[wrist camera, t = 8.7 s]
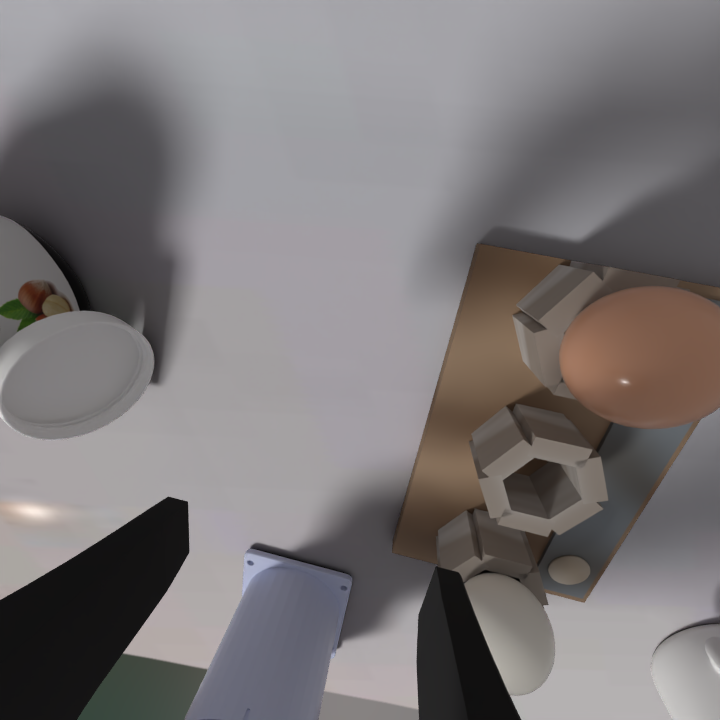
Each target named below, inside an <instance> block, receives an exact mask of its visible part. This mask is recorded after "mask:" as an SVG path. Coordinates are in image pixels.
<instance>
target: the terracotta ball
mask: <svg viewBox="0 0 720 720" xmlns="http://www.w3.org/2000/svg"><path fill="white" fill-rule="evenodd" d="M559 364H560V371H561V374H562V377H563V379H564V381H565V384H566V386H567V388H568V389H569V391H570V392H571V394H572V395H573V396H574V397H575V398H576V399H577V400H578V401H579V403H581V404H582V405H583V406H584V407H586V408H587V409H588V410H589V411H591V412H592V413H594V414H596V415H598V416H599V417H601V418H603V419H605V420H608V421H610V422H613V423H616V424H619V425H623V426H627V427H633V428H640V429H664V428H672V427H678V426H682V425H686V424H689V423H692V422H694V421H697V420H700V419H702V418H704V417H706V416H708V415H709V414H711V413H713V412H714V411H716V410H717V409H719V408H720V307H719V306H718V305H716V304H715V303H713V302H711V301H710V300H708V299H706V298H704V297H702V296H700V295H698V294H695V293H693V292H689V291H686V290H682V289H678V288H672V287H663V286H642V287H634V288H629V289H624V290H620V291H617V292H614V293H612V294H609V295H606V296H604V297H602V298H600V299H598V300H597V301H595V302H593V303H592V304H590V305H589V306H588V307H586V308H585V309H584V310H582V311H581V312H580V313H579V314H578V315H577V316H576V317H575V319H574V320H573V321H572V322H571V324H570V325H569V327H568V328H567V330H566V332H565V334H564V336H563V339H562V342H561V345H560V350H559Z"/></svg>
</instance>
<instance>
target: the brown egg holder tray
mask: <svg viewBox="0 0 720 720" xmlns="http://www.w3.org/2000/svg"><path fill="white" fill-rule="evenodd" d="M642 286H663V287H672V288H678V289H682V290H686V291H689V292H693V293H695V294H698V295H700V296H702V297H704V298H706V299H708V300H710V301H711V302H713V303H715V304H716V305H718V306H719V307H720V288H719V287H714V286H708V285H703V284H697V283H692V282H687V281H681V280H678V279H673V278H667V277H662V276H656V275H651V274H645V273H640V272H634V271H629V270H623V269H618V268H612V267H607V266H601V265H595V264H589V263H583V262H577V261H572V260H566V259H561V258H555V257H550V256H544V255H539V254H533V253H528V252H522V251H517V250H511V249H506V248H500V247H495V246H490V245H484V244H478V243H477V245H476V248H475V252H474V255H473V259H472V262H471V266H470V269H469V273H468V276H467V280H466V284H465V287H464V291H463V294H462V298H461V301H460V305H459V308H458V312H457V315H456V319H455V322H454V326H453V329H452V333H451V337H450V340H449V344H448V347H447V351H446V354H445V358H444V361H443V365H442V368H441V372H440V375H439V379H438V382H437V386H436V389H435V393H434V397H433V400H432V404H431V407H430V411H429V414H428V418H427V421H426V425H425V428H424V432H423V435H422V439H421V442H420V446H419V450H418V453H417V457H416V460H415V464H414V467H413V471H412V474H411V478H410V481H409V485H408V488H407V492H406V495H405V499H404V502H403V506H402V510H401V513H400V517H399V520H398V524H397V527H396V531H395V534H394V538H393V547H392V553H395V554H399V555H403V556H407V557H411V558H414V559H418V560H422V561H426V562H430V563H434V564H437V565H438V567H441V568H444V569H448V570H452V571H456V572H459V573H460V575H461V577H462V579H463V582H464V583H465V582H467V581H468V580H469V579H470V578H472V577H474V576H476V575H479V574H482V573H499V574H503V575H506V576H509V577H511V578H513V579H515V580H517V581H519V582H520V583H521V584H523V585H524V586H525V587H526V588H528V589H529V590H530V591H531V592H532V593H533V594H534V596H535V597H536V598H537V599H538V601H539V602H540V603H541V605H542V606H543V605H548V602H547V598H546V594H545V593H549V594H553V595H557V596H561V597H565V598H568V599H572V600H576V601H580V602H585V601H586V599H587V598H588V596H589V595H590V593H591V591H592V590H593V588H594V587H595V585H596V584H597V582H598V580H599V579H600V577H601V576H602V574H603V573H604V571H605V569H606V568H607V566H608V565H609V563H610V562H611V560H612V558H613V557H614V555H615V554H616V552H617V550H618V549H619V547H620V546H621V544H622V543H623V541H624V539H625V538H626V536H627V535H628V533H629V532H630V530H631V528H632V527H633V525H634V524H635V522H636V521H637V519H638V517H639V516H640V514H641V513H642V511H643V509H644V508H645V506H646V505H647V503H648V502H649V500H650V498H651V497H652V495H653V494H654V492H655V491H656V489H657V487H658V486H659V484H660V483H661V481H662V480H663V478H664V476H665V475H666V473H667V472H668V470H669V468H670V467H671V465H672V464H673V462H674V461H675V459H676V457H677V456H678V454H679V453H680V451H681V450H682V448H683V446H684V445H685V443H686V442H687V440H688V439H689V437H690V435H691V434H692V432H693V431H694V429H695V427H696V426H697V424H698V423H699V421H700V420H701V419H700V420H697V421H694V422H692V423H689V424H686V425H682V426H678V427H672V428H664V429H640V428H633V427H627V426H623V425H619V424H616V423H613V422H610V421H608V420H605V419H603V418H601V417H599V416H598V415H596V414H594V413H592V412H591V411H589V410H588V409H587V408H586V407H584V406H583V405H582V404H581V403H579V401H578V400H577V399H576V398H575V397H574V396H573V395H572V394H571V392H570V391H569V389H568V388H567V386H566V384H565V381H564V379H563V377H562V374H561V371H560V364H559V350H560V345H561V342H562V339H563V336H564V334H565V332H566V330H567V328H568V327H569V325H570V324H571V322H572V321H573V320H574V319H575V317H576V316H577V315H578V314H579V313H580V312H581V311H582V310H584V309H585V308H586V307H588V306H589V305H590V304H592V303H593V302H595V301H597V300H598V299H600V298H602V297H604V296H606V295H609V294H612V293H614V292H617V291H620V290H624V289H629V288H634V287H642ZM543 608H544V607H543Z"/></svg>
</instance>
